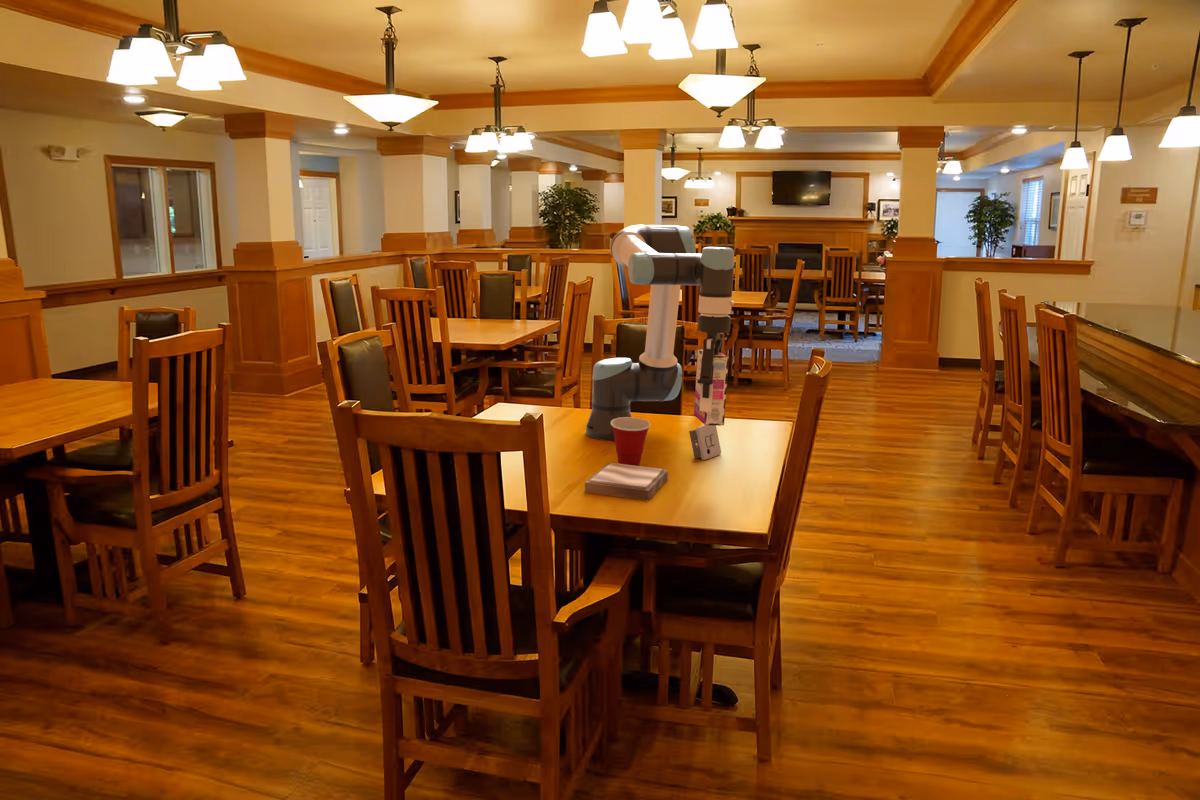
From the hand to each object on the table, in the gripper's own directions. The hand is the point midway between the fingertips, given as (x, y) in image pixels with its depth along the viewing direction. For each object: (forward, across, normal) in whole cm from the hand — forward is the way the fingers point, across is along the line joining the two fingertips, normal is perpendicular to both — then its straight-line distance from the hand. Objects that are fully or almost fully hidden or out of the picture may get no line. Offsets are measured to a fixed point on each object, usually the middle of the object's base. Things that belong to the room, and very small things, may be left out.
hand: (709, 405), depth 202 cm
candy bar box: (+4, 0, 0) cm, 4 cm away
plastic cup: (+22, +18, +24) cm, 37 cm away
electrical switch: (+22, +34, +6) cm, 41 cm away
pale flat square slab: (+22, 0, +19) cm, 29 cm away
